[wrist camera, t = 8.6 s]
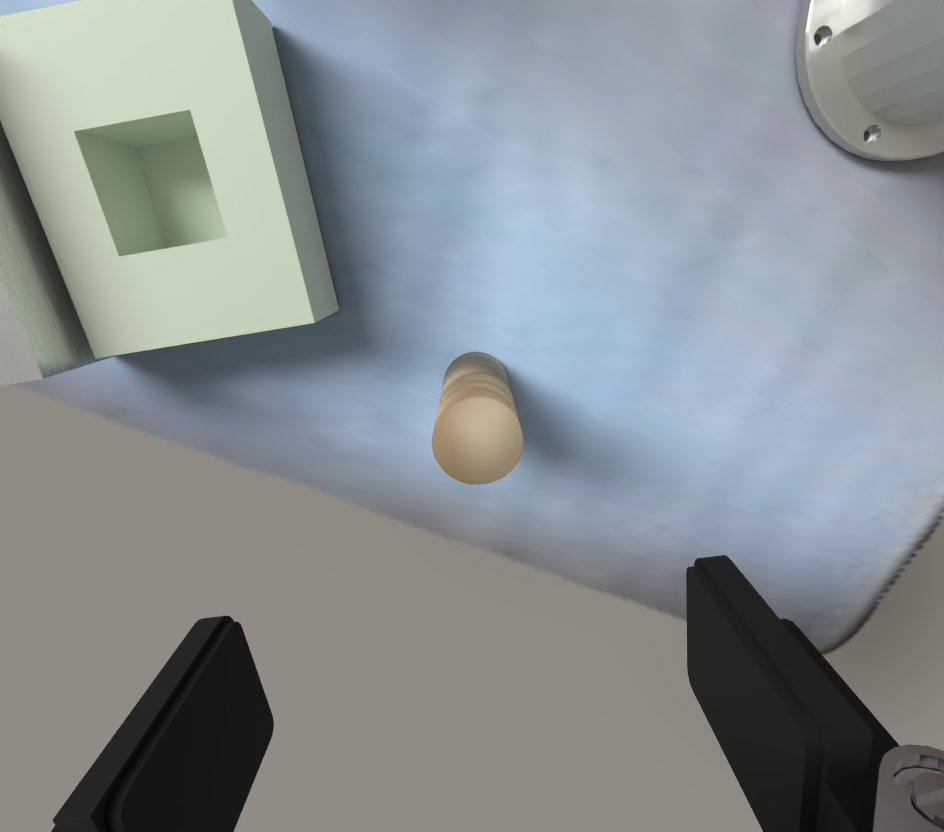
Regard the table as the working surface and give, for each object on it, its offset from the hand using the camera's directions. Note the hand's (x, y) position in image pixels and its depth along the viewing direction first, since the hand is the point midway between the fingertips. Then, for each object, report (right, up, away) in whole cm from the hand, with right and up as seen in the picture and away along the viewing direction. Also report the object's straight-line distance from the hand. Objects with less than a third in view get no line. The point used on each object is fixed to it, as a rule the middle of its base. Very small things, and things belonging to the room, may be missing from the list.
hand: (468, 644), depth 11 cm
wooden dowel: (0, +7, +21) cm, 22 cm away
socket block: (-15, +17, +18) cm, 28 cm away
